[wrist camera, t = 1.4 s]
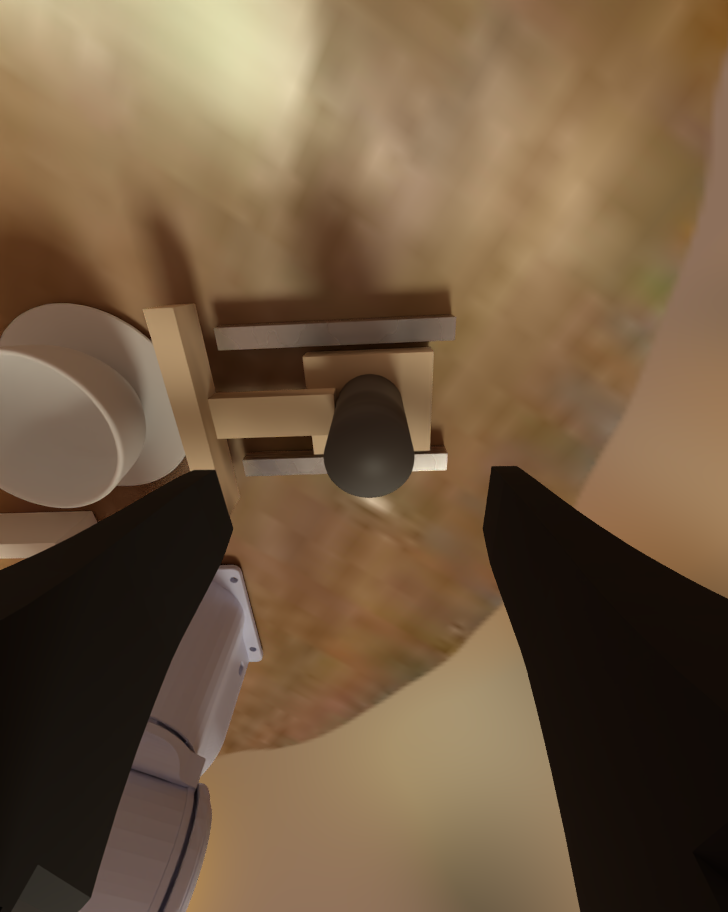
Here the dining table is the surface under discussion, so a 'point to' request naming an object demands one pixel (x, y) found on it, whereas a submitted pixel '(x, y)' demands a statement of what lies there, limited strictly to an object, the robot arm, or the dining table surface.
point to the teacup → (81, 407)
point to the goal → (39, 531)
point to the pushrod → (301, 407)
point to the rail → (328, 336)
